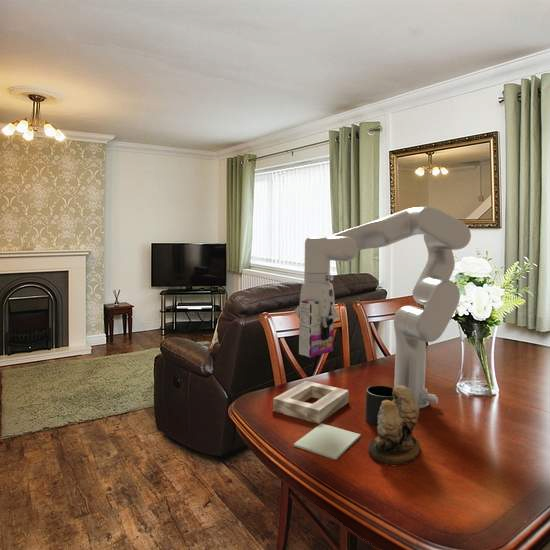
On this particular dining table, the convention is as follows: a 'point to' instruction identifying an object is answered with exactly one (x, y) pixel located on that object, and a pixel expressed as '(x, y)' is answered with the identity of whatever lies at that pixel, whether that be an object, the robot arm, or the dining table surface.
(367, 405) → the mug
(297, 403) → the board
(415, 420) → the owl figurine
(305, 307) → the candy bar box
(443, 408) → the dining table surface
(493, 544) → the dining table surface
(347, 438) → the mat
